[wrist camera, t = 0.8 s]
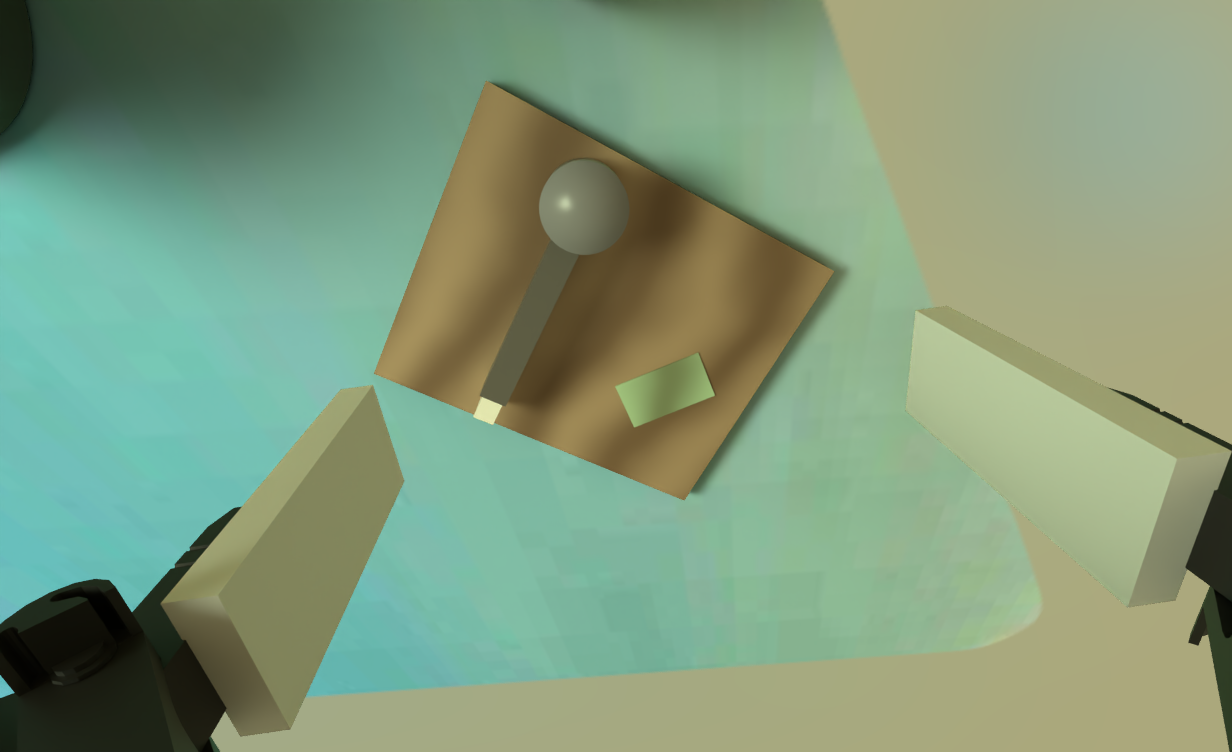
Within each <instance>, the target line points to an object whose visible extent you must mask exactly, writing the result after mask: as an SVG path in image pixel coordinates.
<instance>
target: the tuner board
mask: <svg viewBox="0 0 1232 752" xmlns="http://www.w3.org/2000/svg"><path fill="white" fill-rule="evenodd" d="M575 158H592V159H596V160H599V161H601V162H603V163H604V164H606V165H607V166H609V167H610V168H611V169H612V170H613V171H614V172H615V174H616V175H617V177H618V178H619V180H620V181H621V183H622V184H623V186H624V188H625V190H626V193H627V195H628V200H629V218H628V222H627V225H626V228H625V230H624V232H623V234H622V235H621V237H620V238H619V239H618V240H617V241H616V242H615V243H614V244H613V245H612V246H611V247H609V248H608V249H606V250H604V251H602V252H599V253H596V254H590V255H580V254H579V256H578V258H577V261H576V263H575V265H574V267H573V269H572V271H571V273H570V275H569V277H568V279H567V281H566V283H565V285H564V287H563V289H562V291H561V294H560V296H559V298H558V300H557V302H556V304H555V306H554V308H553V310H552V312H551V314H550V316H549V318H548V320H547V322H546V324H545V326H544V329H543V331H542V333H541V335H540V337H539V339H538V341H537V343H536V345H535V347H534V349H533V351H532V353H531V355H530V357H529V359H528V362H527V364H526V366H525V368H524V370H523V372H522V374H521V376H520V378H519V380H518V382H517V384H516V386H515V388H514V390H513V392H512V394H511V397H510V399H509V401H508V403H507V405H506V407H505V406H502V407H501V409H500V411H499V413H498V415H497V417H496V419H495V422H494V423H496V424H498V425H501V426H503V427H506V428H508V429H511V430H513V431H516V432H518V433H520V434H523V435H525V436H528V437H530V438H533V439H535V440H538V441H540V442H542V443H545V444H547V445H550V446H552V447H555V448H557V449H560V450H562V451H564V452H567V453H569V454H572V455H574V456H577V457H579V458H582V459H584V460H586V461H589V462H591V463H594V464H596V465H599V466H601V467H604V468H606V469H608V470H611V471H613V472H616V473H618V474H621V475H623V476H626V477H628V478H630V479H633V480H635V481H638V482H640V483H643V484H645V485H648V486H650V487H652V488H655V489H657V490H660V491H662V492H665V493H667V494H670V495H672V496H675V497H677V498H679V499H682V500H685V499H686V497H687V496H688V494H689V492H690V491H691V489H692V488H693V486H694V485H695V483H696V482H697V480H698V479H699V477H700V476H701V474H702V473H703V471H704V470H705V468H706V467H707V465H708V463H709V462H710V460H711V459H712V457H713V456H714V454H715V453H716V451H717V450H718V448H719V447H720V445H721V444H722V442H723V441H724V439H725V438H726V436H727V434H728V433H729V431H730V430H731V428H732V427H733V425H734V424H735V422H736V421H737V419H738V418H739V416H740V415H741V413H742V412H743V410H744V409H745V407H746V405H747V404H748V402H749V401H750V399H751V398H752V396H753V395H754V393H755V392H756V390H757V389H758V387H759V386H760V384H761V383H762V381H763V380H764V378H765V376H766V375H767V373H768V372H769V370H770V369H771V367H772V366H773V364H774V363H775V361H776V360H777V358H778V357H779V355H780V354H781V352H782V351H783V349H784V348H785V346H786V344H787V343H788V341H789V340H790V338H791V337H792V335H793V334H794V332H795V331H796V329H797V328H798V326H799V325H800V323H801V322H802V320H803V319H804V317H805V315H806V314H807V312H808V311H809V309H810V308H811V306H812V305H813V303H814V302H815V300H816V299H817V297H818V296H819V294H820V293H821V291H822V290H823V288H824V286H825V285H826V283H827V282H828V280H829V279H830V277H831V276H832V274H833V273H834V271H833V270H831V269H829V268H828V267H826V266H824V265H822V264H820V263H819V262H817V261H815V260H813V259H811V258H809V257H808V256H806V255H804V254H802V253H800V252H799V251H797V250H795V249H793V248H791V247H789V246H788V245H786V244H784V243H782V242H780V241H778V240H777V239H775V238H773V237H771V236H769V235H767V234H766V233H764V232H762V231H760V230H758V229H757V228H755V227H753V226H751V225H749V224H747V223H746V222H744V221H742V220H740V219H738V218H736V217H735V216H733V215H731V214H729V213H727V212H725V211H724V210H722V209H720V208H718V207H716V206H715V205H713V204H711V203H709V202H707V201H705V200H704V199H702V198H700V197H698V196H696V195H694V194H693V193H691V192H689V191H687V190H685V189H684V188H682V187H680V186H678V185H676V184H674V183H673V182H671V181H669V180H667V179H665V178H663V177H662V176H660V175H658V174H656V173H654V172H652V171H651V170H649V169H647V168H645V167H643V166H642V165H640V164H638V163H636V162H634V161H632V160H631V159H629V158H627V157H625V156H623V155H621V154H620V153H618V152H616V151H614V150H612V149H610V148H609V147H607V146H605V145H603V144H601V143H600V142H598V141H596V140H594V139H592V138H590V137H589V136H587V135H585V134H583V133H581V132H579V131H578V130H576V129H574V128H572V127H570V126H569V125H567V124H565V123H563V122H561V121H559V120H558V119H556V118H554V117H552V116H550V115H548V114H547V113H545V112H543V111H541V110H539V109H537V108H536V107H534V106H532V105H530V104H528V103H527V102H525V101H523V100H521V99H519V98H517V97H516V96H514V95H512V94H510V93H508V92H506V91H505V90H503V89H501V88H499V87H497V86H495V85H494V84H492V83H490V82H488V81H486V82H485V85H484V88H483V90H482V93H481V95H480V98H479V101H478V103H477V106H476V108H475V111H474V114H473V116H472V119H471V122H470V124H469V127H468V129H467V132H466V135H465V137H464V140H463V142H462V145H461V148H460V150H459V153H458V155H457V158H456V161H455V163H454V166H453V169H452V171H451V174H450V176H449V179H448V182H447V184H446V187H445V189H444V192H443V195H442V197H441V200H440V202H439V205H438V208H437V210H436V213H435V216H434V218H433V221H432V223H431V226H430V229H429V231H428V234H427V236H426V239H425V242H424V244H423V247H422V249H421V252H420V255H419V257H418V260H417V263H416V265H415V268H414V270H413V273H412V276H411V278H410V281H409V283H408V286H407V289H406V291H405V294H404V296H403V299H402V302H401V304H400V307H399V310H398V312H397V315H396V317H395V320H394V323H393V325H392V328H391V330H390V333H389V336H388V338H387V341H386V343H385V346H384V349H383V351H382V354H381V357H380V359H379V362H378V364H377V367H376V370H375V372H374V374H376V375H379V376H381V377H383V378H386V379H388V380H391V381H393V382H396V383H398V384H401V385H403V386H405V387H408V388H410V389H413V390H415V391H418V392H420V393H423V394H425V395H427V396H430V397H432V398H435V399H437V400H440V401H442V402H445V403H447V404H450V405H452V406H454V407H457V408H459V409H462V410H464V411H467V412H469V413H472V414H475V411H476V409H477V406H478V403H479V401H480V398H481V396H479V395H480V393H481V390H482V387H483V385H484V382H485V380H486V377H487V375H488V373H489V370H490V368H491V366H492V364H493V362H494V360H495V357H496V355H497V353H498V351H499V349H500V347H501V344H502V342H503V340H504V338H505V336H506V334H507V332H508V329H509V327H510V325H511V323H512V321H513V319H514V316H515V314H516V312H517V310H518V308H519V306H520V303H521V301H522V299H523V297H524V295H525V293H526V290H527V288H528V286H529V284H530V282H531V280H532V277H533V275H534V273H535V271H536V269H537V267H538V264H539V262H540V260H541V258H542V256H543V254H544V251H545V249H546V247H547V245H548V243H549V241H550V237H549V236H548V235H547V233H546V232H545V230H544V228H543V225H542V222H541V219H540V214H539V202H540V196H541V193H542V190H543V188H544V186H545V184H546V182H547V181H548V179H549V178H550V176H551V175H552V173H553V172H554V171H555V170H556V169H557V168H558V167H559V166H560V165H561V164H563V163H565V162H566V161H569V160H571V159H575Z"/></svg>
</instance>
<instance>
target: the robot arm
mask: <svg viewBox="0 0 1232 752" xmlns="http://www.w3.org/2000/svg"><path fill="white" fill-rule="evenodd" d="M32 60H33V47H32V35H31V28H30V22H29V17H28V13H27V8H26V5H25V1H24V0H0V134H1V133H2V132H3V131H4V130H5V129H6V128H7V127H8V126H9V125H10V123H11V122H12V121H13V120H14V118H15V117H16V115H17V114H18V112H19V110H20V108H21V106H22V104H23V102H24V99H25V97H26V94H27V91H28V87H29V83H30V78H31V72H32ZM905 411H906V412H908V413H909V414H910V415H911V416H912V417H913V418H914V419H915V420H917V421H918V422H919V423H920V424H921V425H922V426H923V427H924V428H926V429H927V430H928V431H929V432H930V433H931V434H932V435H933V436H935V437H936V438H937V439H938V440H939V441H940V442H941V443H943V444H944V445H945V446H946V447H947V448H948V449H949V450H950V451H952V452H953V453H954V454H955V455H956V456H957V457H958V458H959V459H961V460H962V461H963V462H964V463H965V464H966V465H967V466H968V467H970V468H971V469H972V470H973V471H974V472H975V473H976V474H977V475H979V476H980V477H981V478H982V479H983V480H984V481H985V482H987V483H988V484H989V485H990V486H991V487H992V488H993V489H994V490H996V491H997V492H998V493H999V494H1000V495H1001V496H1002V497H1003V498H1005V499H1006V500H1007V501H1008V502H1009V503H1010V504H1011V505H1012V506H1014V507H1015V508H1016V509H1017V510H1018V511H1019V512H1021V513H1022V514H1023V515H1024V516H1025V517H1026V518H1027V519H1028V520H1029V521H1031V522H1032V523H1033V524H1034V525H1035V526H1036V527H1037V528H1038V529H1040V530H1041V531H1042V532H1043V533H1044V534H1045V535H1046V536H1047V537H1049V538H1050V539H1051V540H1052V541H1053V542H1054V543H1055V544H1056V545H1058V546H1059V547H1060V548H1061V549H1063V551H1064V552H1066V553H1067V554H1068V555H1069V556H1070V557H1071V558H1072V559H1073V560H1075V561H1076V562H1077V563H1078V564H1079V565H1080V566H1081V567H1082V568H1084V569H1085V570H1086V571H1087V572H1088V573H1089V574H1090V575H1092V576H1093V577H1094V578H1095V579H1096V580H1097V581H1099V583H1101V584H1102V585H1103V586H1104V587H1105V588H1106V589H1107V590H1108V591H1109V592H1111V593H1112V594H1113V595H1114V596H1115V597H1116V598H1117V599H1119V600H1120V601H1121V602H1122V603H1123V604H1124V605H1125V606H1126V607H1134V606H1140V605H1148V604H1154V603H1161V602H1168V601H1174V600H1176V597H1177V595H1178V592H1179V589H1180V587H1181V584H1182V581H1183V579H1184V576H1185V574H1186V571H1187V569H1188V570H1189V571H1191V572H1192V573H1193V574H1195V575H1196V576H1197V577H1199V578H1200V579H1202V580H1203V581H1204V582H1206V583H1207V584H1208V585H1210V587H1209V590H1208V592H1207V595H1206V598H1205V600H1204V602H1203V604H1202V607H1201V609H1200V612H1199V614H1198V617H1197V619H1196V622H1195V624H1194V627H1193V629H1192V632H1191V634H1190V638H1189V643H1192V644H1195V645H1199V642H1200V640H1201V638H1202V636H1205V635H1208V636H1209V641H1210V647H1211V652H1212V658H1213V663H1214V669H1215V674H1216V680H1217V685H1218V691H1219V696H1220V701H1221V706H1222V712H1223V717H1224V723H1225V728H1226V734H1227V740H1228V745H1229V751H1230V752H1232V445H1231V444H1229V443H1227V442H1225V441H1223V440H1221V439H1219V438H1217V437H1215V436H1213V435H1211V434H1209V433H1207V432H1205V431H1203V430H1201V429H1199V428H1197V427H1195V426H1193V425H1191V424H1189V423H1183V422H1182V420H1181V419H1179V418H1177V417H1175V416H1173V415H1171V414H1169V413H1167V412H1165V411H1164V412H1160V409H1159V408H1157V407H1155V406H1153V405H1151V404H1149V403H1147V402H1145V401H1143V400H1141V399H1139V398H1137V397H1135V396H1133V395H1130V394H1127V393H1124V392H1120V391H1117V390H1114V389H1111V388H1107V387H1105V386H1103V385H1101V384H1099V383H1097V382H1095V381H1093V380H1091V379H1089V378H1087V377H1085V376H1083V375H1081V374H1079V373H1077V372H1075V371H1073V370H1071V369H1070V368H1067V367H1066V366H1064V365H1061V364H1060V363H1058V362H1056V361H1054V360H1052V359H1050V358H1048V357H1046V356H1044V355H1042V354H1040V353H1038V352H1036V351H1034V350H1032V349H1030V348H1028V347H1026V346H1024V345H1022V344H1020V343H1018V342H1017V341H1015V340H1013V339H1011V338H1009V337H1007V336H1005V335H1003V334H1000V333H999V332H997V331H995V330H993V329H991V328H989V327H987V326H985V325H983V324H981V323H979V322H977V321H975V320H973V319H971V318H969V317H967V316H965V315H964V314H961V313H959V312H958V311H956V310H954V309H952V308H950V307H948V306H943V307H936V308H928V309H921V310H916V311H915V321H914V331H913V341H912V351H911V360H910V370H909V380H908V390H907V400H906V410H905ZM403 483H404V479H403V476H402V472H401V469H400V466H399V463H398V460H397V457H396V454H395V451H394V448H393V445H392V442H391V439H390V436H389V433H388V430H387V427H386V424H385V421H384V418H383V414H382V411H381V408H380V405H379V402H378V399H377V396H376V393H375V390H374V387H373V385H370V386H363V387H355V388H348V389H341V390H340V391H339V392H338V393H337V395H336V396H335V397H334V398H333V399H332V401H331V402H330V403H329V404H328V405H327V406H326V408H325V409H324V410H323V411H322V412H321V414H320V415H319V416H318V417H317V418H316V420H315V421H314V422H313V423H312V424H311V425H310V427H309V428H308V429H307V430H306V431H305V433H304V434H303V435H302V436H301V437H300V439H299V440H298V441H297V442H296V443H295V444H294V446H293V447H292V448H291V449H290V450H289V452H288V453H287V454H286V455H285V456H284V458H283V459H282V460H281V461H280V462H279V463H278V465H277V466H276V467H275V468H274V469H273V471H272V472H271V473H270V474H269V475H268V477H267V478H266V479H265V480H264V481H263V482H262V484H261V485H260V486H259V487H258V488H257V490H256V491H255V492H254V493H253V494H252V495H251V497H250V498H249V499H248V500H247V501H246V503H245V504H244V505H243V506H242V507H237V508H233V509H232V510H231V511H229V512H228V513H226V514H225V515H224V516H222V517H221V518H219V519H218V520H217V521H215V522H214V523H213V524H211V525H210V526H208V527H207V528H206V530H205V531H204V532H203V533H202V534H201V535H200V536H199V537H198V539H197V540H196V541H195V542H194V543H193V544H192V545H191V547H190V551H186V552H185V553H184V554H183V556H182V557H181V558H180V559H179V560H178V561H177V562H176V563H175V568H173V569H170V570H169V571H168V573H167V574H166V575H165V576H164V577H163V578H162V579H161V580H160V582H159V583H158V584H157V585H156V586H155V587H154V588H153V589H152V591H151V592H150V593H149V594H148V595H147V596H146V597H145V599H144V600H143V601H142V602H141V603H140V604H139V605H138V606H137V608H136V609H135V610H134V611H133V612H131V611H130V609H129V607H128V606H127V604H126V603H125V601H124V600H123V598H122V596H121V595H120V593H119V592H118V590H117V589H116V587H115V586H114V585H113V584H112V583H111V582H110V581H109V580H101V579H92V580H87V581H82V582H78V583H74V584H71V585H68V586H66V587H63V588H60V589H58V590H55V591H53V592H50V593H48V594H46V595H45V596H43V597H41V598H39V599H37V600H35V601H33V602H31V603H30V604H28V605H26V606H24V607H23V608H22V609H20V610H19V611H17V612H16V613H14V614H13V615H12V616H10V617H9V618H7V619H6V620H5V621H3V622H2V623H1V624H0V675H1V676H2V678H3V679H4V680H5V681H6V682H7V684H8V685H9V686H10V687H11V689H12V690H13V691H14V692H15V693H13V694H11V695H8V696H5V697H2V698H0V752H220V751H219V749H218V748H217V746H216V744H215V743H214V741H213V739H212V738H211V734H212V733H213V731H214V729H215V728H216V726H217V724H218V722H219V721H220V719H221V717H222V715H223V714H224V712H226V713H227V715H228V717H229V718H230V720H231V722H232V723H233V725H234V727H235V728H236V730H237V732H238V733H239V735H240V736H248V735H255V734H262V733H269V732H275V731H282V730H289V729H291V727H292V725H293V722H294V720H295V718H296V716H297V714H298V712H299V709H300V707H301V705H302V703H303V701H304V699H305V696H306V694H307V692H308V690H309V688H310V685H311V683H312V681H313V679H314V677H315V675H316V672H317V670H318V668H319V666H320V664H321V661H322V659H323V657H324V655H325V653H326V651H327V648H328V646H329V644H330V642H331V640H332V637H333V635H334V633H335V631H336V629H337V627H338V624H339V622H340V620H341V618H342V616H343V613H344V611H345V609H346V607H347V605H348V603H349V600H350V598H351V596H352V594H353V592H354V589H355V587H356V585H357V583H358V581H359V579H360V576H361V574H362V572H363V570H364V568H365V565H366V563H367V561H368V559H369V557H370V555H371V552H372V550H373V548H374V546H375V544H376V542H377V539H378V537H379V535H380V533H381V531H382V528H383V526H384V524H385V522H386V520H387V518H388V515H389V513H390V511H391V509H392V507H393V504H394V502H395V500H396V498H397V496H398V494H399V491H400V489H401V487H402V485H403Z"/></svg>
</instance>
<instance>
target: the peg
mask: <svg viewBox="0 0 1232 752" xmlns="http://www.w3.org/2000/svg"><path fill="white" fill-rule="evenodd" d="M539 214H540V219H541V222H542V225H543V228H544V230H545V232H546V233H547V235H548V236H549V237H550V241H549V243H548V245H547V247H546V249H545V251H544V254H543V256H542V258H541V260H540V262H539V264H538V267H537V269H536V271H535V273H534V275H533V277H532V280H531V282H530V284H529V286H528V288H527V290H526V293H525V295H524V297H523V299H522V301H521V303H520V306H519V308H518V310H517V312H516V314H515V316H514V319H513V321H512V323H511V325H510V327H509V329H508V332H507V334H506V336H505V338H504V340H503V342H502V344H501V347H500V349H499V351H498V353H497V355H496V357H495V360H494V362H493V364H492V366H491V368H490V370H489V373H488V375H487V377H486V380H485V382H484V385H483V387H482V390H481V393H480V395H479V396H481V398H480V401H479V403H478V406H477V409H476V411H475V414H474V417H475V418H477V419H479V420H482V421H484V422H487V423H489V424H492V425H493V424H494V422H495V419H496V417H497V415H498V413H499V411H500V409H501V407H502V406H505V407H506V405H507V403H508V401H509V399H510V397H511V394H512V392H513V390H514V388H515V386H516V384H517V382H518V380H519V378H520V376H521V374H522V372H523V370H524V368H525V366H526V364H527V362H528V359H529V357H530V355H531V353H532V351H533V349H534V347H535V345H536V343H537V341H538V339H539V337H540V335H541V333H542V331H543V329H544V326H545V324H546V322H547V320H548V318H549V316H550V314H551V312H552V310H553V308H554V306H555V304H556V302H557V300H558V298H559V296H560V294H561V291H562V289H563V287H564V285H565V283H566V281H567V279H568V277H569V275H570V273H571V271H572V269H573V267H574V265H575V263H576V261H577V258H578V256H579V254H580V255H590V254H596V253H599V252H602V251H604V250H606V249H608V248H609V247H611V246H612V245H613V244H614V243H615V242H616V241H617V240H618V239H619V238H620V237H621V235H622V234H623V232H624V230H625V228H626V225H627V222H628V218H629V200H628V195H627V193H626V190H625V188H624V186H623V184H622V183H621V181H620V180H619V178H618V177H617V175H616V174H615V172H614V171H613V170H612V169H611V168H610V167H609V166H607V165H606V164H604V163H603V162H601V161H599V160H596V159H592V158H575V159H571V160H569V161H566V162H565V163H563V164H561V165H560V166H559V167H558V168H557V169H556V170H555V171H554V172H553V173H552V175H551V176H550V178H549V179H548V181H547V182H546V184H545V186H544V188H543V190H542V193H541V196H540V202H539Z"/></svg>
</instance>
